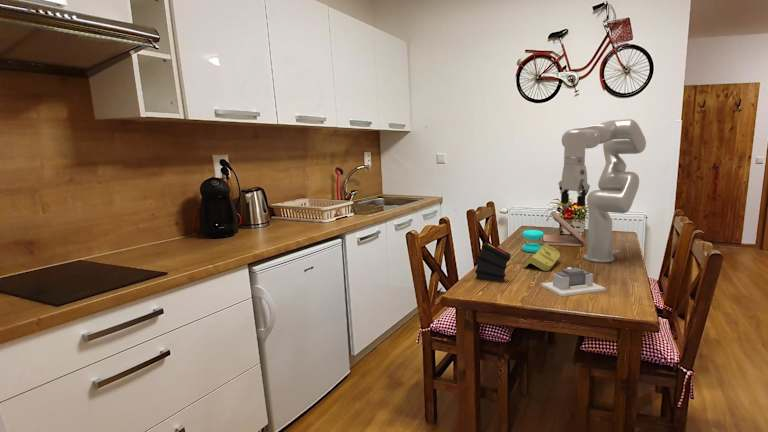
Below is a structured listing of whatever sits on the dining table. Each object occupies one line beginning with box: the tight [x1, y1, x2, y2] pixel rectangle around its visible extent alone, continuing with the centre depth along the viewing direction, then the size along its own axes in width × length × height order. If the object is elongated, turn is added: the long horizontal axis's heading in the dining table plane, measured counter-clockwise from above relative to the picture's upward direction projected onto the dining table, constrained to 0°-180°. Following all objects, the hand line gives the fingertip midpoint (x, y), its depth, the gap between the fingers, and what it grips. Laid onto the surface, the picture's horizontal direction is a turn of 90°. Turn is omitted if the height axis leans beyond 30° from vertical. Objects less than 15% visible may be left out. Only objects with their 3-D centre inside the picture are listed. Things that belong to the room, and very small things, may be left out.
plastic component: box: [522, 244, 561, 272], centre depth 183 cm, size 20×7×10 cm
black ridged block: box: [474, 241, 512, 282], centre depth 165 cm, size 4×13×15 cm, turn 64°
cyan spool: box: [522, 229, 545, 254], centre depth 206 cm, size 10×10×10 cm
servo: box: [555, 266, 590, 288], centre depth 152 cm, size 11×4×7 cm, turn 103°
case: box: [540, 210, 585, 247], centre depth 223 cm, size 20×21×16 cm
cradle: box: [540, 273, 606, 297], centre depth 152 cm, size 18×12×5 cm, turn 103°
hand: (572, 204), depth 167 cm, fingers open, 9 cm apart
